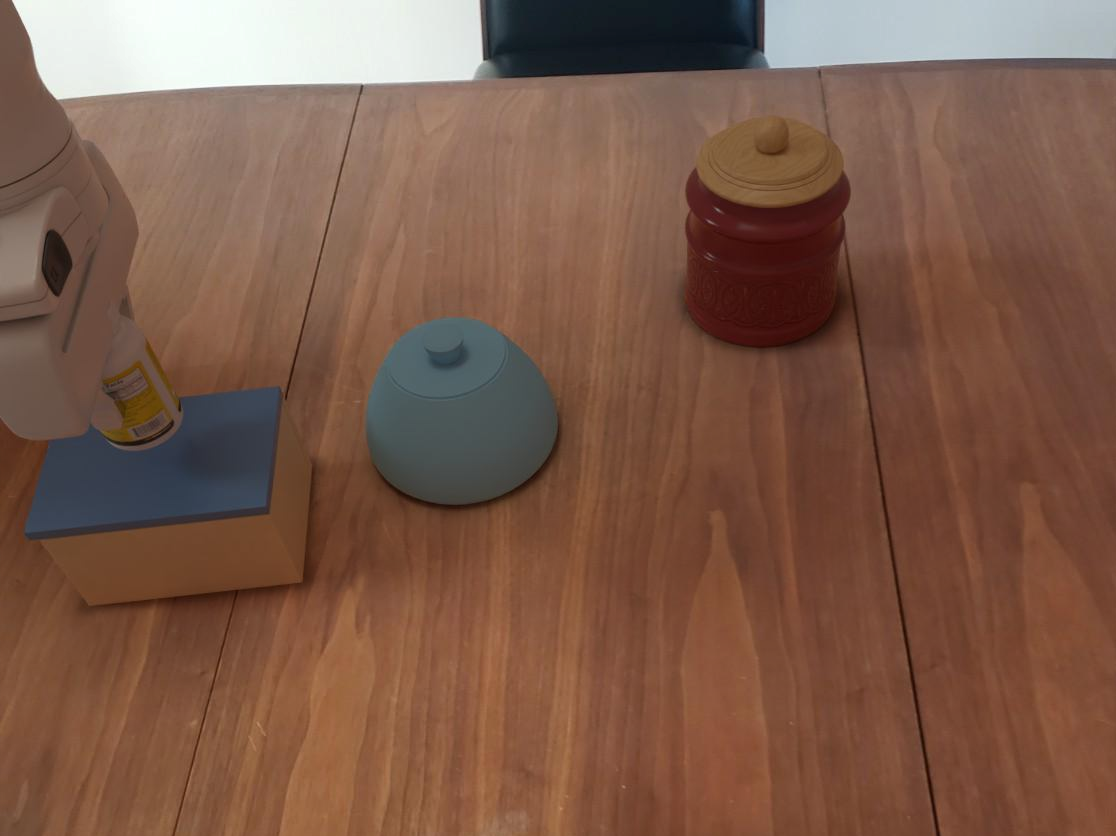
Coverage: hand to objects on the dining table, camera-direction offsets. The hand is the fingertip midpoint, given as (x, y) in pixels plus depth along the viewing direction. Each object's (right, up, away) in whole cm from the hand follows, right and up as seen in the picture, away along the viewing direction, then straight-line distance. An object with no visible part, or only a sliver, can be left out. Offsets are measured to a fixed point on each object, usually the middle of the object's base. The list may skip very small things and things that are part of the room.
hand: (121, 385), depth 70 cm
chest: (+1, -9, +13) cm, 16 cm away
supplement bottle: (0, -2, +3) cm, 4 cm away
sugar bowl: (+20, -2, +17) cm, 27 cm away
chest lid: (0, -4, +6) cm, 7 cm away
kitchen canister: (+45, +12, +25) cm, 53 cm away
